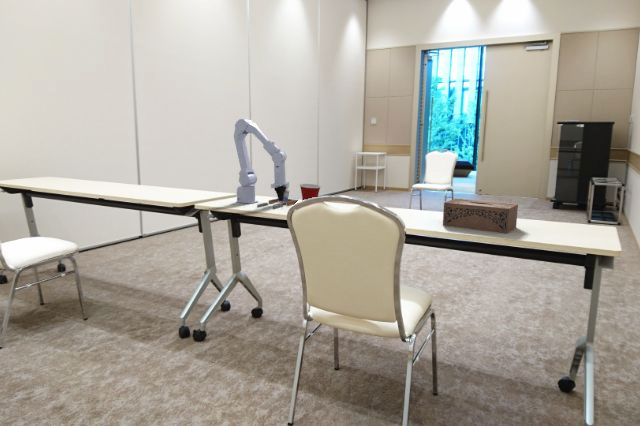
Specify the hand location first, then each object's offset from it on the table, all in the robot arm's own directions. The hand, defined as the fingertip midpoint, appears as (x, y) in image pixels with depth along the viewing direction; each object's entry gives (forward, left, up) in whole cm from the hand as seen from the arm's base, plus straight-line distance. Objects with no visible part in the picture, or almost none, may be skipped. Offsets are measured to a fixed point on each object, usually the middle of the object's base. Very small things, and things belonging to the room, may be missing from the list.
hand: (280, 200), depth 242 cm
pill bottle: (-1, +2, -2) cm, 3 cm away
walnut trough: (-1, +4, -2) cm, 5 cm away
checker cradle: (-1, -9, -2) cm, 9 cm away
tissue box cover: (+101, -7, -3) cm, 101 cm away
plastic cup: (+19, -3, -2) cm, 19 cm away
